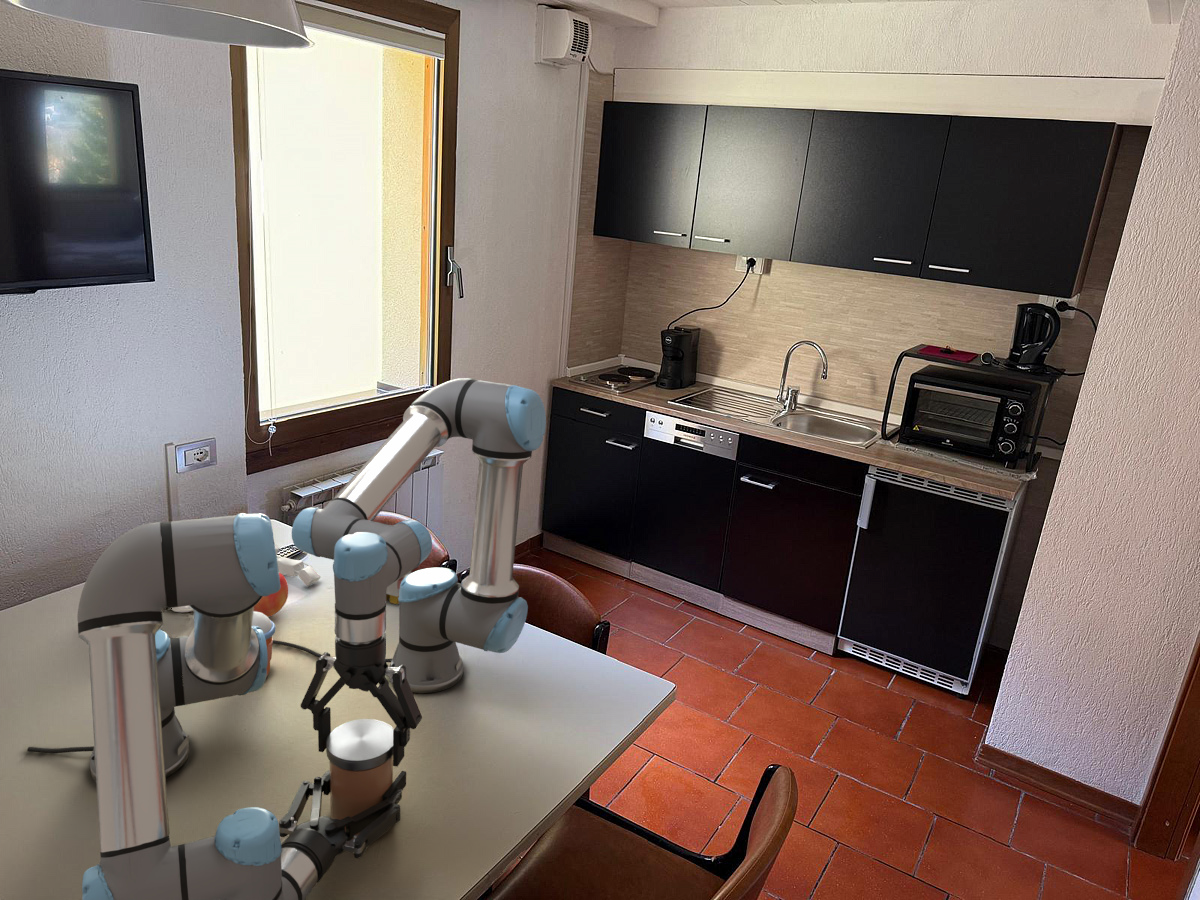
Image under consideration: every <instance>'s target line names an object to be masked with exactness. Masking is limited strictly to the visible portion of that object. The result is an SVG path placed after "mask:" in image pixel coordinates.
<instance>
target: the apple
mask: <svg viewBox="0 0 1200 900" xmlns="http://www.w3.org/2000/svg"><path fill="white" fill-rule="evenodd" d="M279 577H280V586H281V587H280V590H279V591H278V592H276V593H274V594H270V595H269V596H263V597H262V598H261V600H260V601H259V602H258V603H257V604H256V605H255V606H254V609H253V611H255V612H260V613H263V614H265V615H266V616H267V617H268V618H269V617H273V616H275V615H276V614H278V613H279V612H280V611H281V610H282V609H283V607H284V606H285V605H286V603H287V600H288V597H289V584H288V581H287V579H286V577H285V575H282V574H281V573H279Z"/></svg>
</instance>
